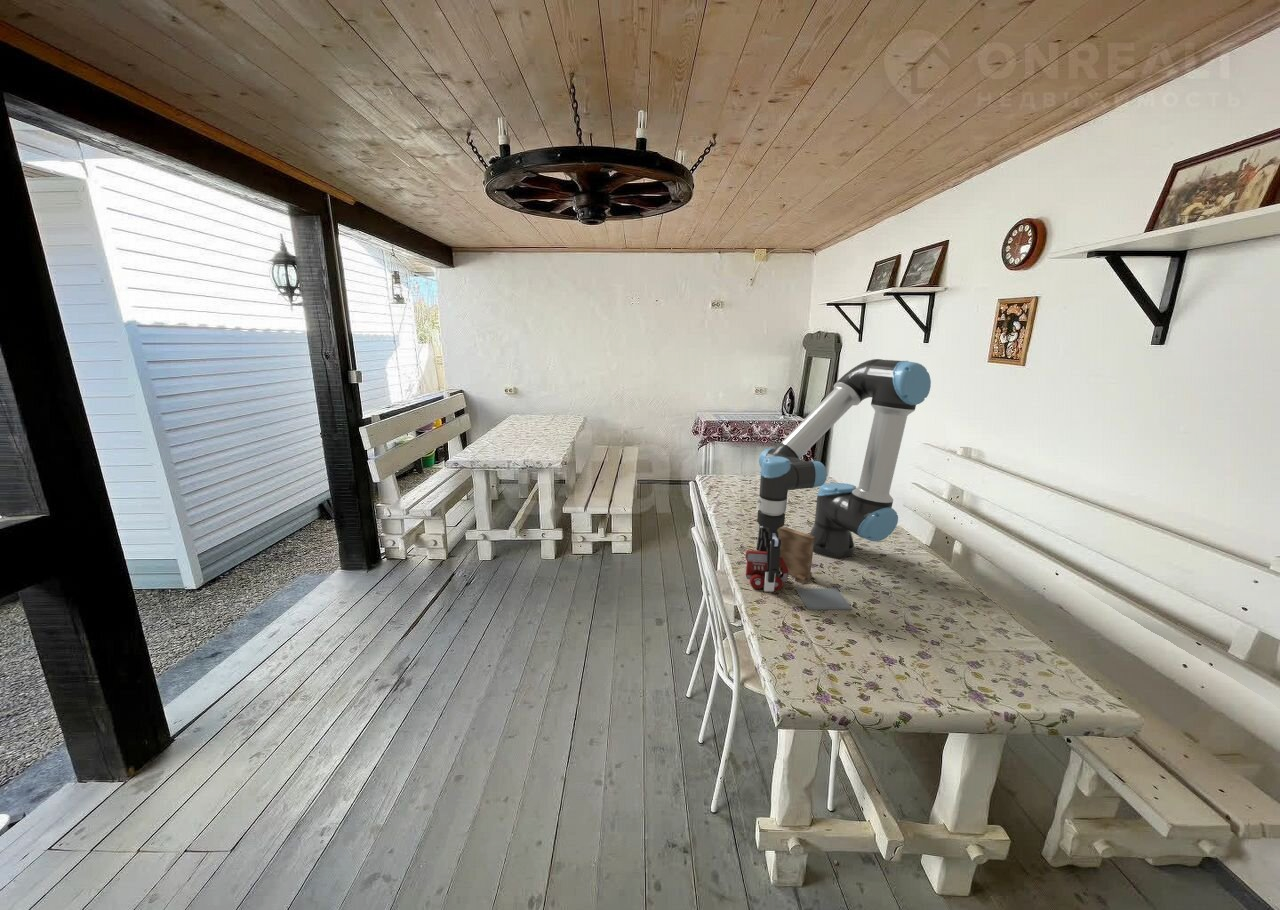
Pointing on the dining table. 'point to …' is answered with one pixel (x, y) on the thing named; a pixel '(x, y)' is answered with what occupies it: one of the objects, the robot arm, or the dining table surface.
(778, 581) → the toy fire truck
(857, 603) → the dining table surface
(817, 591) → the mat
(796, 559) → the screen
